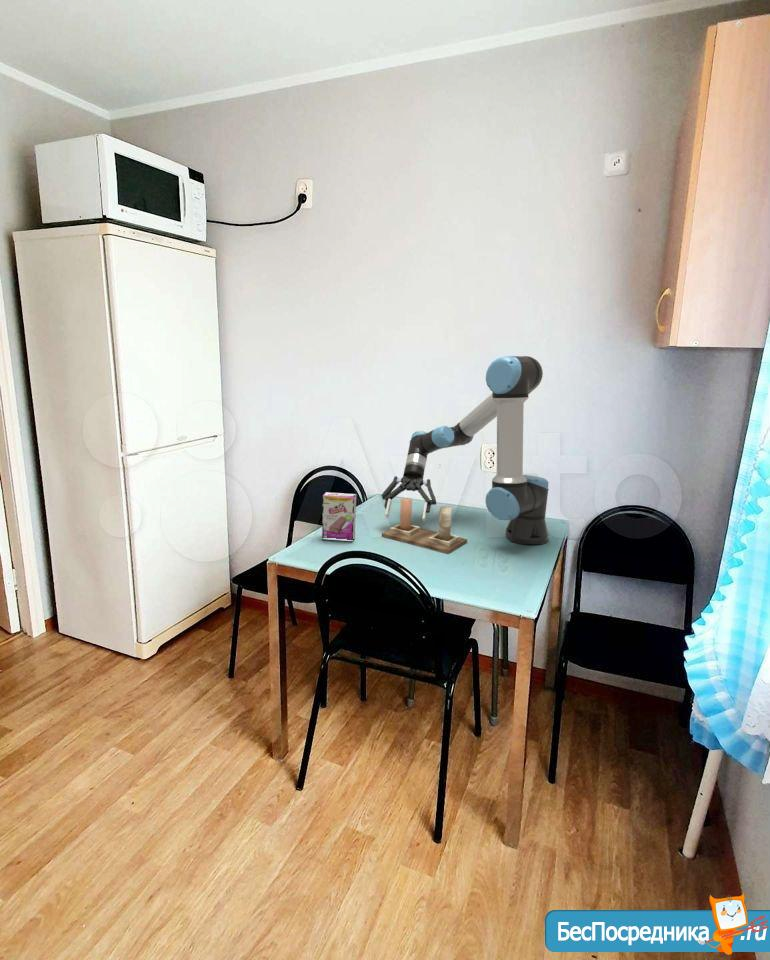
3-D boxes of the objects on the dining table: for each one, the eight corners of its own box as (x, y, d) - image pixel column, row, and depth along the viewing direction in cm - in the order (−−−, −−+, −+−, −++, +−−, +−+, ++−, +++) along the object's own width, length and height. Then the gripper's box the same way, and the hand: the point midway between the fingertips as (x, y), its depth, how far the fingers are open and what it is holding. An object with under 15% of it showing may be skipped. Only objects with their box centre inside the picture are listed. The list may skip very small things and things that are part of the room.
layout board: (467, 542, 198) (469, 506, 194) (448, 553, 186) (450, 516, 183) (402, 526, 212) (404, 493, 209) (381, 536, 201) (382, 501, 198)
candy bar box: (321, 540, 195) (321, 495, 191) (324, 536, 200) (324, 491, 196) (353, 542, 194) (354, 497, 190) (355, 537, 199) (356, 493, 195)
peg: (412, 531, 204) (414, 499, 201) (407, 533, 201) (408, 501, 198) (403, 528, 206) (404, 497, 203) (397, 531, 203) (398, 499, 200)
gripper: (448, 476, 212) (440, 526, 202) (384, 471, 218) (373, 519, 207) (447, 465, 206) (438, 516, 195) (381, 460, 211) (369, 509, 201)
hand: (405, 518), depth 201 cm, fingers open, 13 cm apart
